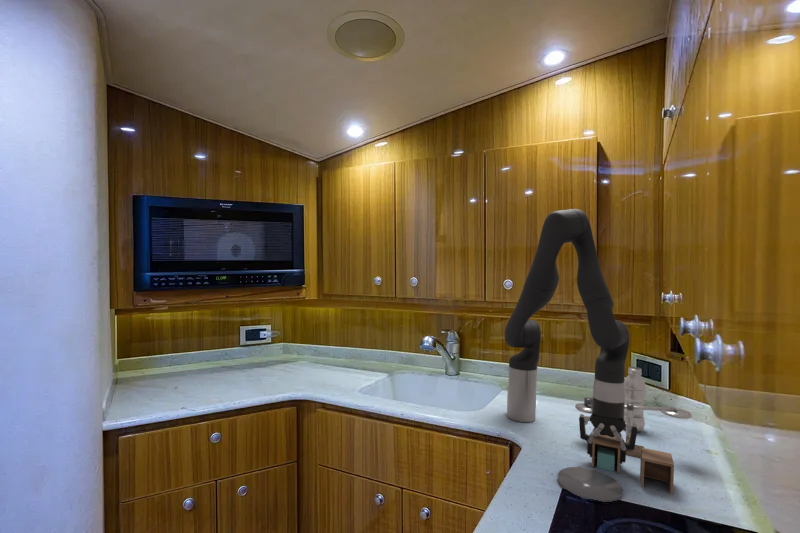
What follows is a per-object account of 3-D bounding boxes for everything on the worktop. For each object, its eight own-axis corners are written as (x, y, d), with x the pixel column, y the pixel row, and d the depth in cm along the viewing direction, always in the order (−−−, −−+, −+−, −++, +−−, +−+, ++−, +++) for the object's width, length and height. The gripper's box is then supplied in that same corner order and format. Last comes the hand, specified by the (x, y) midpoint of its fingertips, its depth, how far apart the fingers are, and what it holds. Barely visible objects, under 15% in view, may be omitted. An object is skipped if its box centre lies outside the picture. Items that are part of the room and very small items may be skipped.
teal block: (597, 461, 112) (598, 446, 112) (614, 464, 110) (614, 449, 110) (596, 467, 109) (597, 452, 109) (614, 471, 107) (614, 456, 107)
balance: (572, 443, 122) (574, 394, 122) (575, 435, 128) (576, 388, 128) (691, 469, 109) (693, 414, 108) (687, 458, 115) (689, 406, 115)
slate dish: (546, 473, 105) (546, 469, 105) (594, 468, 108) (595, 464, 108) (581, 506, 91) (581, 501, 91) (636, 499, 94) (636, 495, 94)
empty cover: (640, 474, 105) (641, 447, 105) (669, 481, 102) (671, 453, 102) (641, 486, 100) (642, 457, 100) (672, 494, 97) (674, 464, 97)
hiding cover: (592, 456, 114) (594, 431, 114) (619, 462, 111) (620, 437, 111) (591, 467, 108) (592, 440, 108) (619, 473, 105) (620, 446, 105)
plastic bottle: (649, 433, 131) (652, 370, 130) (630, 434, 130) (632, 371, 129) (634, 425, 137) (637, 365, 137) (616, 426, 136) (618, 365, 136)
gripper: (577, 395, 109) (575, 458, 110) (640, 406, 103) (637, 473, 103) (580, 388, 116) (577, 447, 116) (639, 397, 109) (636, 460, 110)
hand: (606, 459), depth 110 cm, fingers closed on hiding cover, 6 cm apart
